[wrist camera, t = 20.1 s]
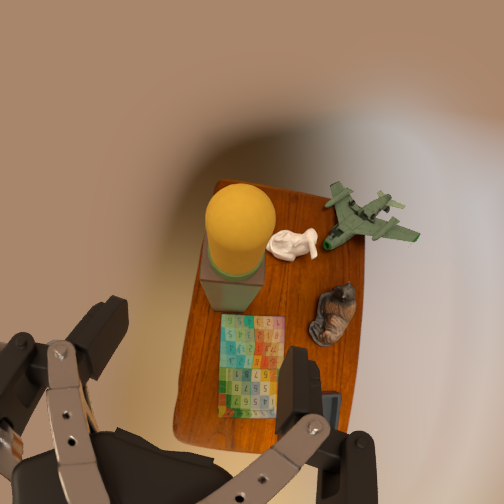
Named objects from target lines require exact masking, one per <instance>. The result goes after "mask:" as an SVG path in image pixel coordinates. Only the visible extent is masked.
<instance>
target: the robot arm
mask: <svg viewBox="0 0 504 504" xmlns="http://www.w3.org/2000/svg"><path fill="white" fill-rule="evenodd" d="M128 325H129V319H128V303H127V300H125V299H122V298H119V297H117V296H114V295H112V296H111V297H110V298H109V299H108V300H107V301H106V303H103V302H100V303H98V304H96V305H95V306H93V307H92V308H91V309H90V310H89V311H88V313H87V315H85V316H84V317H83V318H82V320H81V321H80V322H79V323H78V325H77V326H76V327H75V328H74V329H73V331H72V332H71V333H70V334H69V336H68V337H67V338H66V339H65V340H58V341H55V342H53V343H52V344H51V345H46V344H40V343H35V341H34V339H33V337H32V336H31V335H30V334H29V333H26V332H20V333H17V334H16V335H14V336H13V337H12V339H11V340H10V341H9V342H8V343H3V342H0V474H1V475H3V476H4V477H5V478H7V479H8V480H9V481H10V482H11V486H12V495H13V504H266V503H267V502H269V501H270V500H271V499H272V498H273V497H274V496H275V495H276V494H277V493H278V492H279V491H280V490H281V489H282V488H283V487H284V486H285V485H287V483H289V482H290V480H291V479H292V478H293V477H294V476H295V475H296V474H297V473H298V472H299V471H300V469H301V467H302V466H303V465H304V464H308V465H310V466H313V467H316V468H318V480H317V493H316V504H378V488H377V469H376V456H375V445H374V441H373V439H372V437H371V436H370V435H369V434H368V433H366V432H364V431H354V432H352V433H351V434H350V435H349V434H347V433H344V432H341V431H338V430H336V429H334V428H332V427H331V426H330V425H329V423H328V421H327V420H326V419H325V418H324V415H323V404H322V392H321V381H320V370H319V368H318V366H317V365H316V363H315V361H310V360H308V353H307V349H305V348H300V347H295V346H291V347H290V348H289V350H288V352H287V354H286V356H285V358H284V361H283V363H282V365H281V367H280V370H279V375H278V390H277V409H276V426H275V434H278V435H282V438H281V439H280V440H279V441H278V442H277V443H275V444H274V445H273V446H271V447H270V448H269V449H268V450H266V451H265V452H264V453H263V454H262V455H261V456H260V457H259V458H257V459H256V460H255V461H254V462H253V463H251V464H250V465H249V466H248V467H246V468H245V469H244V470H243V471H241V472H240V473H239V474H238V475H236V476H235V477H234V478H233V476H232V475H231V474H229V473H228V472H227V471H226V470H224V469H223V468H221V467H220V466H218V465H216V464H214V463H213V461H214V458H210V457H206V456H202V455H198V454H194V453H190V452H176V451H166V450H161V449H159V448H158V447H156V446H154V445H153V444H151V443H150V442H148V441H146V440H145V439H143V438H142V437H140V436H138V435H135V434H132V433H130V432H128V431H125V430H123V429H120V428H118V427H117V429H116V431H115V432H111V431H99V428H98V425H97V423H96V420H95V417H94V413H93V409H92V406H91V401H90V396H89V392H88V386H87V381H88V380H89V378H92V379H94V380H96V381H97V380H98V378H99V377H100V375H101V373H102V371H103V370H104V368H105V367H106V365H107V363H108V362H109V360H110V358H111V357H112V355H113V353H114V352H115V350H116V349H117V347H118V345H119V344H120V342H121V341H122V339H123V337H124V336H125V334H126V332H127V329H128ZM46 388H49V389H47V390H46V397H47V407H48V414H49V421H50V427H51V433H52V438H53V443H54V448H55V449H52V450H49V451H47V452H44V453H41V454H38V455H36V456H33V457H30V458H27V459H24V460H22V454H23V442H22V439H21V435H22V433H23V431H24V429H25V427H26V425H27V423H28V421H29V419H30V417H31V415H32V413H33V411H34V409H35V408H36V406H37V404H38V402H39V400H40V398H41V397H42V395H43V393H44V391H45V389H46Z"/></svg>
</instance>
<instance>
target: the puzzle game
mask: <svg viewBox="0 0 504 504" xmlns="http://www.w3.org/2000/svg"><path fill="white" fill-rule="evenodd" d="M284 325H285V316H256V315H235V314H222V319H221V340H220V363H219V392H218V417H221V418H276V409H277V390H278V375H279V370H280V367H281V365H282V363H283V359H284Z"/></svg>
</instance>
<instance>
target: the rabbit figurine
mask: <svg viewBox="0 0 504 504" xmlns="http://www.w3.org/2000/svg"><path fill="white" fill-rule="evenodd" d="M317 238H318V237H317V233H316V231H315V230H314V229H312V228H311V229H308V230H307V231H306V232H305V233H304V234H296V233H293V232H291V231H288V230H282V231H280V232H278V233H277V234H275V235H273V236H272V237H271V239H270V240H269V242H268V244H267V247H266V249H267V250H268V251H270V252H272V254H273V255H274V256H275V257H276V258H278V259H281V260H286V261H294V259H295V257H296V256H300V255H304V254H307V253H308V252H309V251H310V254H311V259H314V258H315V257H316V256H317V251H316V247H315V244H316V241H317Z"/></svg>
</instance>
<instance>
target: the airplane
mask: <svg viewBox="0 0 504 504" xmlns="http://www.w3.org/2000/svg"><path fill="white" fill-rule="evenodd" d="M330 189H331V193H332V197H333V199H331V200H330V201H328V202H327V203H326V204H325V207H331V206H332V205H335V209H336V213H337V218H338V222H339V226H338V224H337V225H335V226H334V227H333V228H332V230H331V231H330V232H329V235H328V236H327V238H326V239H325V241H324V249H325V250H332V249H334V248H336V247H338V246H340V245H342V244H344V243H345V242H346V241H348V240H349V239H350V238H352V237H353V236H354V235H355V234H362V235H370V236H373V238H372V240H373V241H375V240H377V239H379V238H380V237H383V238H390V239H397V240H403V241H409V242H415V241H417V239H418V237H419V236H420V233H418V232H415V231H413V230H410V229H407V228H404V227H401V226H398V225H396V224H397V223H399V222H400V221H399V220H397V219H396V218H394V217H392V218H391V219H390V221H389V222H387V221H384V220H381V219H378V218H375V217H376V216H377V215H378V213H379V212H380V211H381V210H384V211H385V212H386V213H388V212H389V210H390V208H389V206H392V207H396V208H401V209H403V208H405V205H402V204H400V203H398V202H396V201H393V200H391V195H389V194H387V195H385V194H384V193H383V192H382V191H381V190H380V191H378V192H377V194H378V196H379V198H378V199H376V200H374V201H372V202H370V203H369V204H367V205H366V206H364V207H362V208H359V207H358V206H357V204H356V203H355V201H354V200H353V199H352V197H351V196H350V195H349V194H350V193H352V192H353V191H352V190H351V189H349V188H346V189H345V188H344V187H343V185H342V184H341V183H340V181H338V182H335V183H334V184H331V185H330Z"/></svg>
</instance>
